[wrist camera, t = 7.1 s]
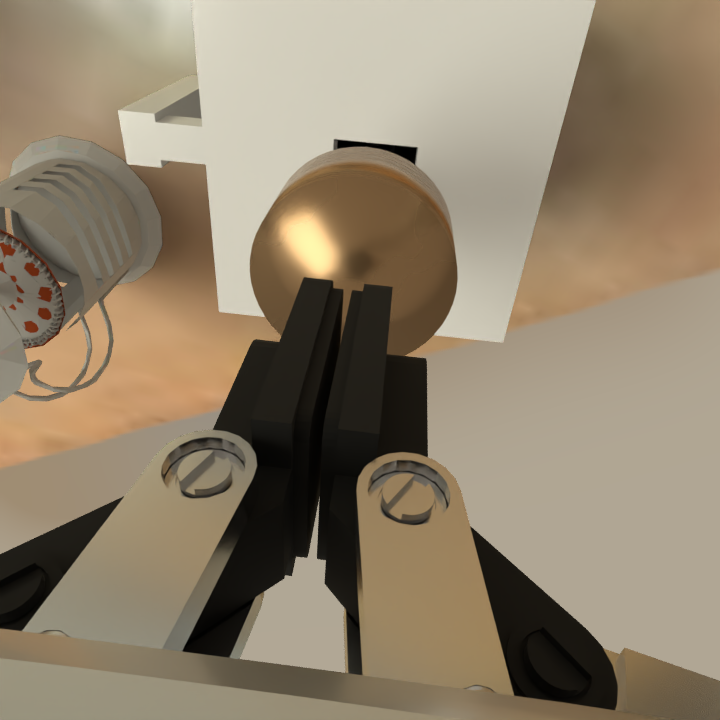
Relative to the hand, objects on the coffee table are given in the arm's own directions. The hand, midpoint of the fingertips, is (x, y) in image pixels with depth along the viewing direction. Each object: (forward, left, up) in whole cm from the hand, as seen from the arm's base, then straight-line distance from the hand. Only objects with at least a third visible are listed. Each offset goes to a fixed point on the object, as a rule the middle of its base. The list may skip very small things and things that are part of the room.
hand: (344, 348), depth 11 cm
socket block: (+2, 0, -23) cm, 23 cm away
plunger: (0, 0, -21) cm, 21 cm away
